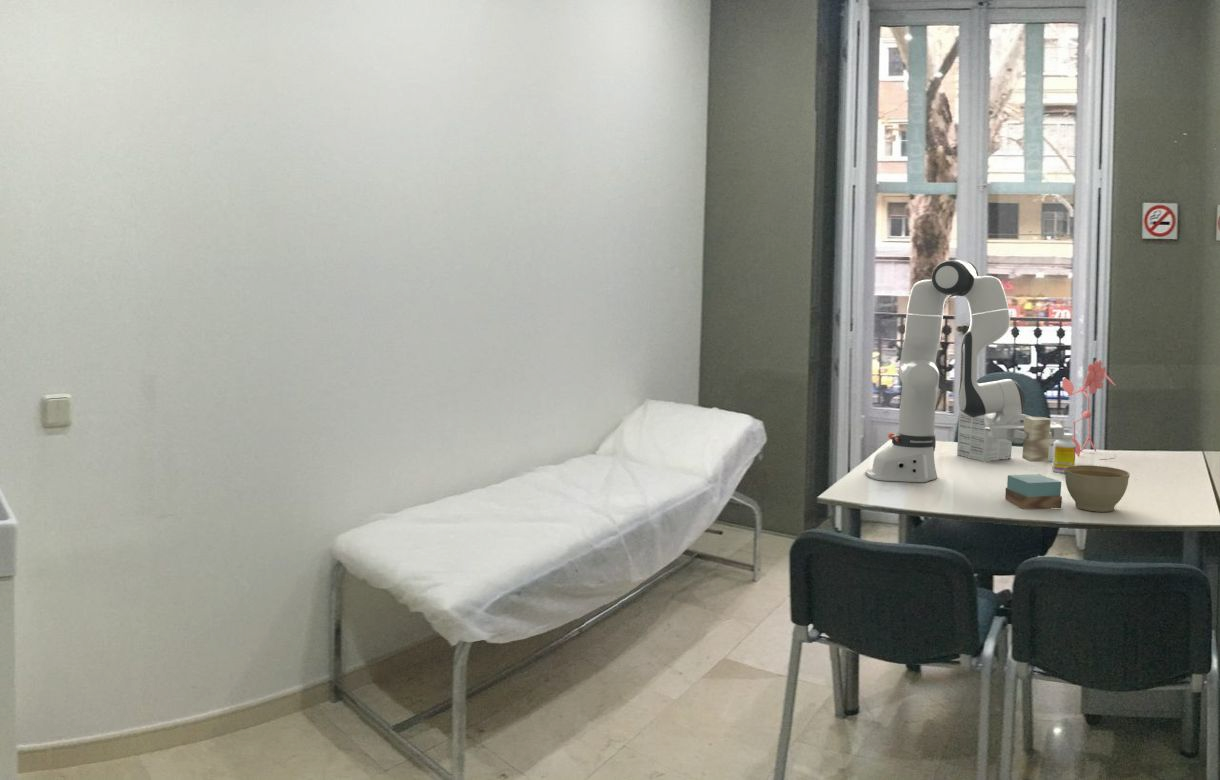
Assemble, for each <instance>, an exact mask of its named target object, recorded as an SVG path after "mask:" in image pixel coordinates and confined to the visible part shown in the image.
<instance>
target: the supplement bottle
mask: <svg viewBox="0 0 1220 780" xmlns="http://www.w3.org/2000/svg"><path fill="white" fill-rule="evenodd" d="M1072 439H1074V433H1070V432H1064V438H1063V439H1058V440H1056V441H1055V442H1054V445H1053V461H1051V463H1052V464H1051V469H1052V471H1053V472H1054V473H1055V472H1056V473H1059V474H1065V472H1064V469H1065V468H1066V467H1068V466H1075V462H1076V453H1075V448H1076V444H1075V443H1074V442H1073V441H1072Z"/></svg>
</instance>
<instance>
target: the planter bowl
mask: <svg viewBox="0 0 1220 780" xmlns="http://www.w3.org/2000/svg"><path fill="white" fill-rule="evenodd" d="M1064 472H1065V473H1064V479H1065V485H1066V488H1067V491H1068V493H1069V495H1070V497H1071V498H1072V500H1073V501H1074V502H1075V507H1076V508H1077V509H1080V510H1084V511H1089V512H1097V513H1099V512H1101V513H1102V512H1103V513H1104V512H1105V513H1107V512H1108V513H1109V512H1113V511H1115V508H1116V505H1117V504H1118V503H1119V502H1120V501H1121V500H1122V498H1123V497H1124V496H1125V493H1126V490H1127V488H1128V484H1129V479H1130V472H1129V471H1127V470H1125V469H1120V468H1116V467H1111V466H1103V465H1102V466H1101V465H1092V464H1091V465H1089V464H1088V465H1087V464H1081V465H1080V464H1076V465H1074V466H1068V467H1066V468H1065V469H1064Z"/></svg>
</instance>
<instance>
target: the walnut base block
mask: <svg viewBox="0 0 1220 780" xmlns="http://www.w3.org/2000/svg"><path fill="white" fill-rule="evenodd" d="M1004 498H1005V499H1006V501H1007V502H1009V503H1010V504H1013V505H1014V506H1016V507H1018V508H1019V509H1021V510H1052V509H1051V508H1061V509H1062V504H1063V496H1040V497H1027V496H1024V495H1022V494H1019V493H1017V492H1014V491H1011V490H1009V489H1007V487H1005V495H1004Z"/></svg>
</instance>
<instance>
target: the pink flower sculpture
mask: <svg viewBox="0 0 1220 780" xmlns="http://www.w3.org/2000/svg"><path fill="white" fill-rule="evenodd" d="M1102 364H1103V363H1102V360H1101V359H1100V360H1099V359H1098V360H1095V361H1094V363H1090V364H1088V366H1087V371H1088V373H1087V374H1086V379H1085V381H1084V384H1083V387H1082V388H1081V389H1079V390H1077V391H1075V392H1074V385H1073V382H1072V381H1071V380H1069V379H1068V378H1066V377H1064V378H1063V379H1062V381H1061V382H1062V383H1061V386H1062V387H1061V388H1062V389H1063V390H1064V391H1065V392H1066V393H1067V394H1068V395H1069V396H1073V395H1074V394H1078V393H1080V392H1082V393H1083V394H1084V395H1085V397H1086V398H1087V410H1085V411H1083V413H1082V416H1083V417H1081V418H1079V419H1077V420H1075V421H1074V422H1073V439H1072V441H1073V442H1074V443H1075V444H1076V448H1075V456H1077V457H1080V455H1081V452H1082V451H1083V450H1084V449H1085V447H1086V445H1087V444H1088V442H1089V444H1090V445H1091V447H1092V449H1093V451H1094V452H1095V453H1098V451H1097V450H1096V447H1095V446H1094V444H1093V442H1092V440H1091V417H1092V413H1091V411H1090V397H1089V396H1088V394H1090V395H1091V394H1094V395H1095V394H1097V392H1098V389H1099V390H1101V389H1103V388H1104V383H1103V381H1104V379H1105V378H1106V379H1107V381H1108V382H1110V383H1111V384H1112V385H1113V386H1114V387H1117V385H1116V384H1115V383H1114V382H1113V380H1112V378H1110V377H1109V376H1108V375H1107V374H1106V370H1107V369H1106V366H1103V365H1102ZM1086 388H1088V389H1086ZM1086 392H1089V393H1088V394H1087V393H1086ZM1083 419H1088V436H1086V441H1085V443H1084V444H1083V446H1082V447H1081V445H1080V443H1079V442H1078V440H1077V439H1076V423H1077V422H1079V421H1080V420H1083ZM1096 451H1097V452H1096ZM1113 455H1115V456H1116V454H1115V453H1113ZM1101 460H1102V461H1103V460H1106V458H1104V459H1101V458H1099V461H1101ZM1110 460H1114V457H1113V458H1110Z"/></svg>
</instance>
